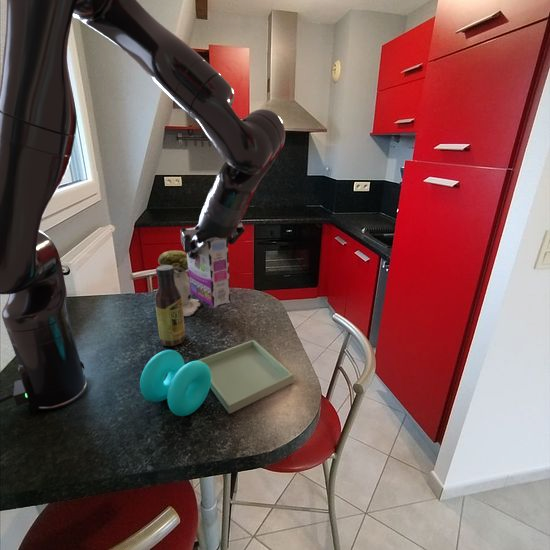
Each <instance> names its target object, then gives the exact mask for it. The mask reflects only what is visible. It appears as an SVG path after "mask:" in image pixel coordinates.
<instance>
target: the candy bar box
mask: <svg viewBox="0 0 550 550" xmlns="http://www.w3.org/2000/svg"><path fill="white" fill-rule="evenodd" d="M195 227H196V226H194V227H189V228H186V229H187V231H189V230H193V229H195ZM214 238H215V239H214V240H213V241H212V242H208V243H207V245H206V246H205V247H204V248H200V249H199V250H198V253H197V255H196V257H195V259H193V260H191V258H189V256H188V253H186V254H187V262H188V270H187V271H188V278H189V283H190V293H191V296H193V297H195V298H197V300H199V301H201V302H203V303H204V304H206V305H208V306H209V307H211V308H212V309H217V308H220V307H223V306H226V305H228V304H231V303H232V301H231V285H230V284H231V283H230V282H231V281H230V261H229V260H230V259H229V244H228V238H226V240H221V239H220V238H216V237H214ZM202 242H203V241H202ZM195 244H196V242H195ZM196 245H197V244H196Z"/></svg>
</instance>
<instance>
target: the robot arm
mask: <svg viewBox="0 0 550 550" xmlns="http://www.w3.org/2000/svg"><path fill="white" fill-rule="evenodd" d="M73 19H76V20H78V21H80V22H81V23H83V24H85V25H86V26H88V27H89V28H90V29H93V30H94V31H95V32H97V33H98V34H100V35H102V37H104V38H106V39H107V40H109V41H110V42H111V43H113V44H114V45H116V46H117V47H118V48H120V49H121V50H122V51H123V52H124V53H126V54H127V56H129V57H130V58H131V59H132V60H133V61H134V62H135V63H136V64H137V65H138V66H139V67H140V68H141V69H142V70H143V72H144V73H146V75H148V77H149V78H150V79H151V80H152V81H153V83H155V84H156V86H157V87H158V88H159V89H160V90H161V91H163V92H164V93H165V94H166V95H167V96H168V97H169V98H170V99H171V100H172V101H173V102H174V103H175V104H177V105H178V106H179V107H180V108H181V110H183V111H184V112H185V113H186V114H187V115H188V116H189V117H191V118H192V119H193V120H194V121H196V122H197V124H198V125H199V127H201V129H202V131H203V132H204V134H205V135H206V137H207V138H208V139H209V141H210V142H211V144H212V146H213V147H214V148H215V149H216V151H217V152H218V154H219V155H220V157H221V158H222V160H223V161H224V162H223V163H222V164H221V166H220V167H219V169H218V171H217V173H216V176H215V178H214V182H213V184H212V186H211V188H210V189H209V191H208V192H207V196H206V198H205V201H204V203H203V206H202V209H201V212H200V215H199V219H198V224H197V225H195V226H194V227H195V229H193V230H189V231H187V229H188V228H187V227H182V228H180V243H181V245H182V247H183V250H184V251H183V252H184V253H186V254H187V253H188V256H189V258H191V260H193V259H195V257H196V255H197V253H198V250H199V249H200V248H204V247H205V246H206V245H207V243H208V242H212V241H213V240H214V239H215V238H214V237H216V238H220V239H221V240H226V238H228V245H234V244H235V243H236V242H237V241H238V240H239V239H240V237H241V236H242V235H243V234H244V233H245V231H246V229H245V227H244V225H243V222H242V220H243V217H244V216H245V214H246V212H247V209H248V206H249V204H250V202H251V201H252V198H253V197H254V195H255V193H256V191H257V188H258V186H259V185H260V183H261V181H262V179H263V178H264V177H265V175H266V174H267V173H268V171H269V170H270V168H271V167H272V165H273V164H274V162H275V161H276V159H277V158H278V156H279V154H280V153H281V151H282V149H283V148H284V145H285V140H286V128H285V125H284V122H283V120H282V119H281V117H280V116H279V115H278V114H277V113H276V112H274V111H273V110H270V109H266V108H260V109H256V110H254V111H252V112H250V113H248V114H246V116H245V117H244V118H242V119H241V118H240V117H239V116H238V114H237V113H236V112H235V110H234V109H233V107H232V105H233V104H234V100H235V92H234V91H235V90H234V88H233V87H232V85H231V84H230V83H229V82H228V81H227V80H226V79H225V77H223V76H222V74H220V73H219V72H218V71H217V70H216V69H215V68H214V67H213V66H212V65H211V64H210V63H209V62H207V61H206V60H205V58H204V57H202V56H201V55H200V54H199V53H198V52H197V51H196V50H194V49H193V47H191V46H190V45H189V44H187V43H186V42H185V41H184V40H182V39H181V38H180V37H178V36H177V35H176V34H174V33H173V32H172V31H170V30H169V29H167V27H165V26H164V25H163V24H161V23H160V22H159V21H158V20H157V19H155V17H154V16H152V15H151V14H150V12H148V11H147V10H146V9H145V8H144V7H143V6H142V5H141V3H140V2H139V1H138V0H6V20H5V22H6V23H5V37H4V45H3V57H2V67H1V78H0V295H8V299H7V301H6V303H5V305H4V307H3V309H2V312H1V318H2V321H3V324H4V326H5V330H6V332H7V335H8V338H9V340H10V343H11V347H12V349H13V352H14V355H15V358H16V361H17V365H18V368H17V371H18V375H19V379H18V380H15V381H14V382H13V383H14V384H13V392H11V393H8V394H6V395H4V396H0V404H2V403H4V402H5V401H8V400H10V399H12V398H13V399H14V401H15V404H16V406H17V407H18V406H19V407H20V406H22V405H24V404H27V403H29V406H30V408H31V412H32V413H36V412H39V411H54V410H57V409H61V408H64V407H67V406H68V405H70V404H72V403H74V402H76V401H77V400H78V399H79V398H81V397H82V396H83V395H84V393H85V392H86V390H87V388H88V382H87V379H86V375H85V373H84V370H86V368H85V365H84V363H83V362H82V361H81V358H80V355H79V351H78V346H77V342H76V339H75V336H74V332H73V328H72V325H71V321H70V317H69V313H68V309H67V305H66V304H67V303H66V302H67V297H68V290H67V284H66V280H65V275H64V271H63V265H62V261H61V257H60V254H59V251H58V249H57V247H56V245H55V243H54V242H53V240H52V239H51V238H50V237H49V236H48V235H46V234H45V233H44V232H42V231H41V230H40V227H41V223H42V219H43V217H44V215H45V212H46V209H47V207H48V206H49V205H50V202H51V201H52V199H53V197H54V195H55V194H56V192H57V190H58V188H59V186H60V184H61V183H62V181H63V179H64V177H65V175H66V173H67V170H68V168H69V165H70V161H71V159H72V158H71V157H72V154H73V148H74V144H75V138H76V133H77V126H78V115H77V108H76V103H75V98H74V91H73V86H72V83H71V77H70V71H69V67H68V66H69V65H68V45H69V39H70V38H69V37H70V33H71V27H72V22H73ZM202 241H203V242H202ZM195 242H196V244H197V245H196V244H195Z"/></svg>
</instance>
